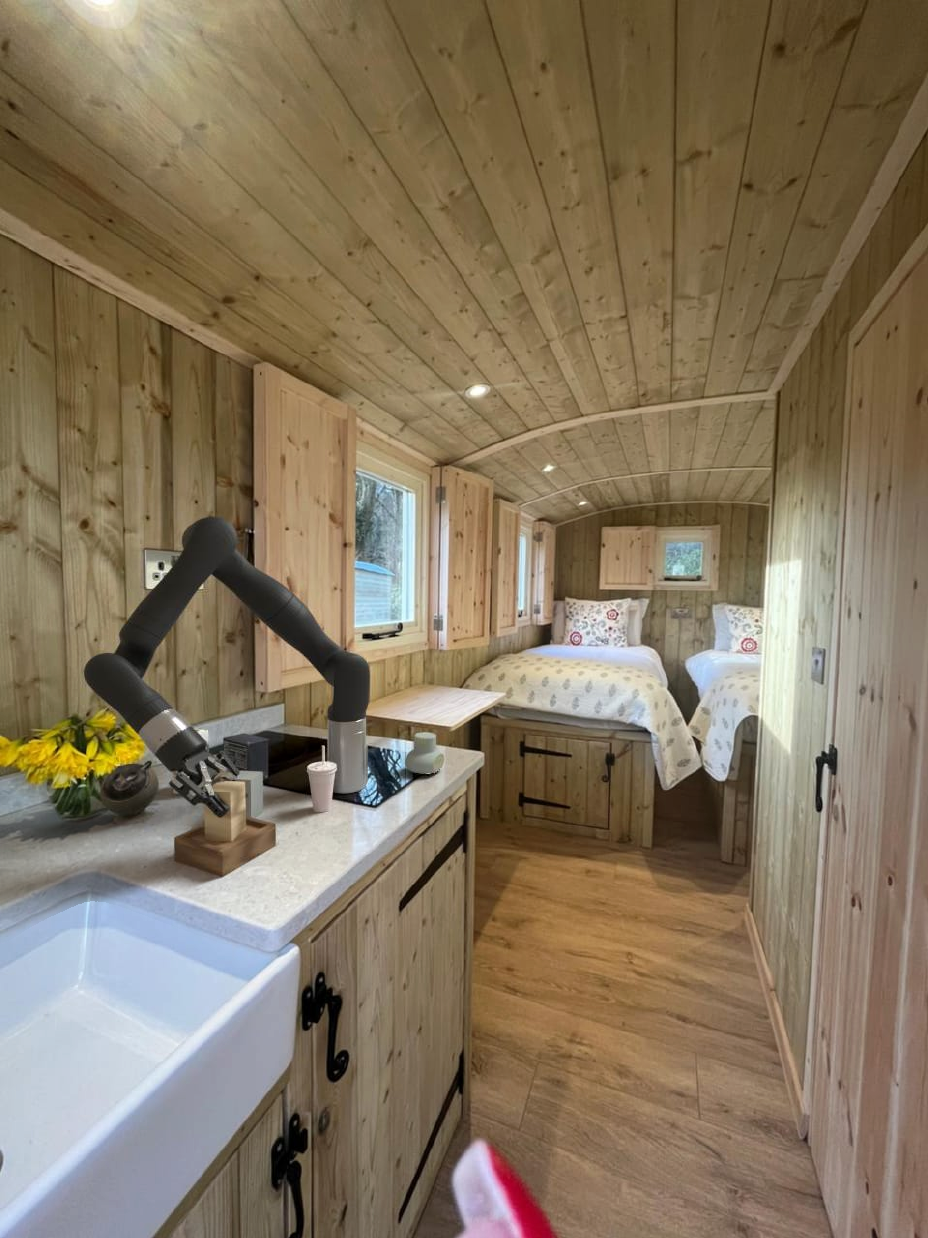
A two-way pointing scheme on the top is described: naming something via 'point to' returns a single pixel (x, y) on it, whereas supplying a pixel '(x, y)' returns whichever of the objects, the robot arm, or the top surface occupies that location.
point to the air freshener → (424, 754)
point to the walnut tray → (224, 847)
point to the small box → (247, 753)
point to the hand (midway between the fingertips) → (235, 806)
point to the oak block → (234, 818)
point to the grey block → (253, 792)
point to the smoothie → (322, 783)
